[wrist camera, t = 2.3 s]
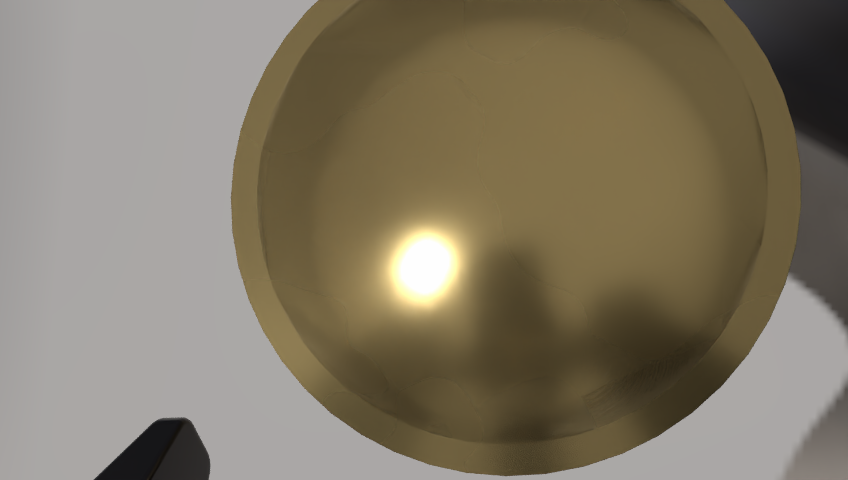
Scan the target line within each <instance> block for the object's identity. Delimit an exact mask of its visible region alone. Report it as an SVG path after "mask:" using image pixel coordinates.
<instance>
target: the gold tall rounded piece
mask: <svg viewBox="0 0 848 480" xmlns="http://www.w3.org/2000/svg"><path fill="white" fill-rule="evenodd" d="M231 205H232V206H231V207H232V229H233V237H234V243H235V248H236V254H237V260H238V266H239V269H240V272H241V276H242V279H243V282H244V285H245V289H246V292H247V295H248V298H249V301H250V303H251V305H252V307H253V310H254V312H255V314H256V316H257V318H258V321H259V323H260V325H261V327H262V329H263V331H264V333H265V335H266V336H267V338H268V339H269V341H270V343H271V344H272V346H273V347H274V349H275V351H276V352H277V354H278V355H279V357H280V359H281V360H282V362H283V363H284V364H285V365H286V366H287V367H288V369H289V370H290V371H291V373H292V374H293V375H294V376H295V377H296V379H297V380H298V381H299V382H300V383H301V385H302V386H303V387H304V388H305V389H306V390H307V391H308V392H309V393H310V394H311V395H312V396H313V397H314V398H315V399H316V400H318V401H319V402H320V403H321V404H322V405H323V406H324V407H325V408H326V409H327V410H328V411H330V413H332V414H333V415H335V416H336V417H337V418H339V419H340V420H342V421H343V422H345V423H346V424H347V425H349V426H350V427H351V428H353V429H354V430H356V431H357V432H359V433H360V434H361V435H363V436H365V437H367V438H369V439H371V440H373V441H375V442H377V443H379V444H380V445H382V446H384V447H386V448H388V449H390V450H392V451H394V452H396V453H399V454H402V455H405V456H407V457H410V458H413V459H416V460H418V461H421V462H424V463H427V464H429V465H434V466H438V467H443V468H447V469H452V470H457V471H461V472H466V473H475V474H488V475H500V476H513V475H514V476H515V475H532V474H533V475H534V474H547V473H552V472H557V471H562V470H568V469H573V468H579V467H583V466H587V465H590V464H593V463H596V462H599V461H602V460H605V459H607V458H611V457H614V456H617V455H620V454H622V453H625V452H626V451H628V450H631V449H633V448H635V447H637V446H639V445H641V444H643V443H645V442H647V441H649V440H651V439H652V438H655V437H657V436H659V435H660V434H662V433H663V432H664V431H666V430H667V429H669V428H670V427H672V426H673V425H675V424H676V423H678V422H679V421H681V420H682V419H684V418H685V417H687V416H688V415H689V414H691V413H692V412H693V411H694V410H696V409H697V408H698V407H699V406H700V405H701V404H702V403H703V402H704V401H706V399H708V398H709V397H710V396H711V395H712V394H713V393H714V392H715V391H716V390H718V389H719V388H720V387H721V386H722V385H723V384H724V383H725V381H726V380H727V379H728V378H729V377H730V375H731V374H732V373H733V372H734V371H735V369H736V368H737V367H738V366H739V364H740V363H741V362H742V361H743V360H744V359H745V357H746V356H747V355H748V354H749V352H750V350H751V349H752V347H753V346H754V344H755V342H756V341H757V339H758V337H759V336H760V334H761V333H762V331H763V329H764V328H765V326H766V325H767V322H768V321H769V319H770V317H771V315H772V313H773V310H774V308H775V306H776V303H777V301H778V299H779V297H780V294H781V292H782V290H783V288H784V285H785V283H786V279H787V276H788V272H789V268H790V265H791V261H792V258H793V254H794V250H795V247H796V241H797V233H798V225H799V218H800V210H801V169H800V161H799V155H798V148H797V142H796V136H795V129H794V126H793V123H792V119H791V116H790V113H789V110H788V106H787V103H786V100H785V97H784V93H783V91H782V89H781V87H780V85H779V82H778V80H777V78H776V76H775V74H774V72H773V70H772V68H771V65H770V63H769V61H768V59H767V57H766V56H765V54H764V53H763V51H762V50H761V48H760V47H759V45H758V44H757V42H756V40H755V39H754V37H753V36H752V34H751V33H750V31H749V30H748V28H747V27H746V26H745V24H744V23H743V22H742V21H741V20H740V19H739V18H738V16H737V15H736V14H735V13H734V12H733V11H732V10H731V8H730V7H729V6H728V5H727V4H726V3H725V2H724V0H318V1H317V2H316V3H315V4H314V5H313V6H312V7H311V8H310V9H309V10H308V11H307V12H306V13H305V14H304V15H303V17H302V18H301V19H300V20H299V22H298V23H297V24H296V25H295V27H294V28H293V29H292V30H291V31H290V33H289V34H288V35H287V36H286V38H285V39H284V40H283V42H282V43H281V45H280V47H279V48H278V50H277V51H276V53H275V55H274V56H273V58H272V59H271V61H270V62H269V64H268V66H267V67H266V69H265V71H264V73H263V76H262V78H261V80H260V82H259V84H258V86H257V88H256V90H255V92H254V94H253V96H252V99H251V102H250V104H249V107H248V111H247V113H246V116H245V119H244V122H243V125H242V128H241V131H240V136H239V141H238V146H237V151H236V156H235V160H234V168H233V180H232V192H231Z"/></svg>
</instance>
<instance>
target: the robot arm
mask: <svg viewBox="0 0 848 480" xmlns="http://www.w3.org/2000/svg"><path fill="white" fill-rule="evenodd" d="M209 474H210V459H209V455H208V453H207V451H206V448H205V447H204V445H203V443H202V441H201V439H200V437H199V435H198V433H197V431H196V429H195V428H194V425H193V424H192V422H191V421H190V420H188V419H187V418H162V419H159V420H157V421H155V422H154V423H152V424H151V425H150V426H149V427H148V428H147V429H146V430H145V431H144V432H143V433H142V434H141V435H140V436H139V437H138V438H137V439H136V440H135V441H134V442H132V444H131V445H130V446H128V447H127V448H126V449H125V450H124V451H123V452H122V453H121V454H120V455H119V456H118V457H117V458H116V459H115V460H114V461H113V462H112V463H111V464H110V465H109V466H108V467H106V468H105V469H104V470H103V471H102V472H101V473H100V474H99V475H98V476H97V477H96V478H95V479H94V480H209Z"/></svg>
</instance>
